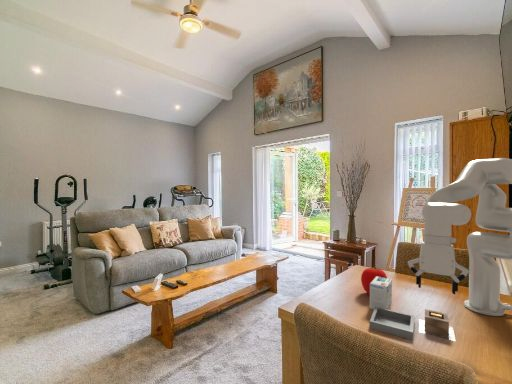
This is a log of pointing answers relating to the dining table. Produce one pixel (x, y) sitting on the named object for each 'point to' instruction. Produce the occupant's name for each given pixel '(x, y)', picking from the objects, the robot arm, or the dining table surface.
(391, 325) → the tray
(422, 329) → the white piece
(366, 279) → the red rounded piece
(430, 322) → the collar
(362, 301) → the dining table surface
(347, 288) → the dining table surface
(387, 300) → the light bulb box
